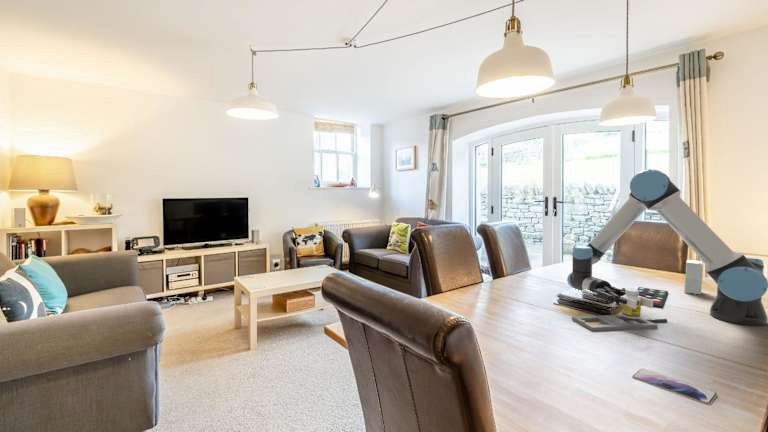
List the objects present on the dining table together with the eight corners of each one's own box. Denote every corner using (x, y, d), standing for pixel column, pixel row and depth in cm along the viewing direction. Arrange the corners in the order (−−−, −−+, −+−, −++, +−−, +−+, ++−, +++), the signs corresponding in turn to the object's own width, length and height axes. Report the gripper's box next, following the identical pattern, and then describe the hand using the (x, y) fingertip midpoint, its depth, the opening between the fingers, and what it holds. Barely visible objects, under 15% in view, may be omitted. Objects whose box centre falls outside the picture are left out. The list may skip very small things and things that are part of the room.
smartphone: (710, 404, 77) (631, 376, 89) (709, 407, 77) (631, 379, 89) (718, 392, 81) (641, 367, 94) (718, 396, 81) (641, 370, 94)
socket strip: (653, 316, 134) (653, 312, 134) (680, 327, 123) (680, 322, 123) (572, 319, 131) (572, 315, 131) (592, 331, 120) (592, 326, 120)
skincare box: (684, 289, 172) (685, 259, 171) (701, 291, 168) (702, 260, 167) (684, 293, 165) (685, 261, 165) (701, 295, 161) (702, 263, 161)
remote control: (629, 304, 151) (629, 299, 151) (638, 289, 174) (638, 285, 174) (662, 309, 144) (662, 304, 144) (667, 294, 166) (668, 290, 166)
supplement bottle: (632, 320, 124) (633, 292, 123) (618, 315, 129) (618, 288, 129) (644, 318, 125) (644, 291, 125) (630, 313, 131) (630, 287, 130)
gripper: (618, 296, 146) (668, 314, 123) (575, 297, 144) (618, 316, 121) (618, 278, 145) (668, 292, 122) (576, 279, 144) (618, 294, 121)
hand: (643, 304), depth 122 cm, fingers closed on supplement bottle, 5 cm apart
